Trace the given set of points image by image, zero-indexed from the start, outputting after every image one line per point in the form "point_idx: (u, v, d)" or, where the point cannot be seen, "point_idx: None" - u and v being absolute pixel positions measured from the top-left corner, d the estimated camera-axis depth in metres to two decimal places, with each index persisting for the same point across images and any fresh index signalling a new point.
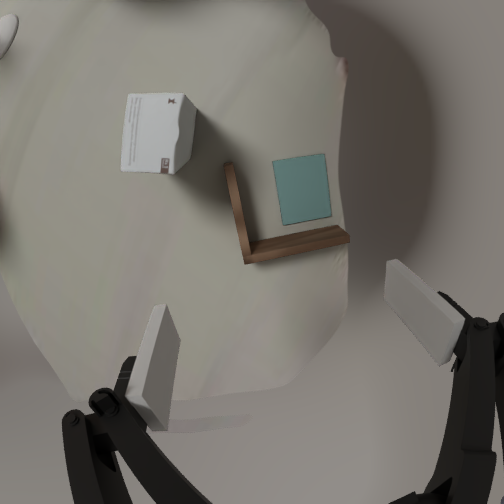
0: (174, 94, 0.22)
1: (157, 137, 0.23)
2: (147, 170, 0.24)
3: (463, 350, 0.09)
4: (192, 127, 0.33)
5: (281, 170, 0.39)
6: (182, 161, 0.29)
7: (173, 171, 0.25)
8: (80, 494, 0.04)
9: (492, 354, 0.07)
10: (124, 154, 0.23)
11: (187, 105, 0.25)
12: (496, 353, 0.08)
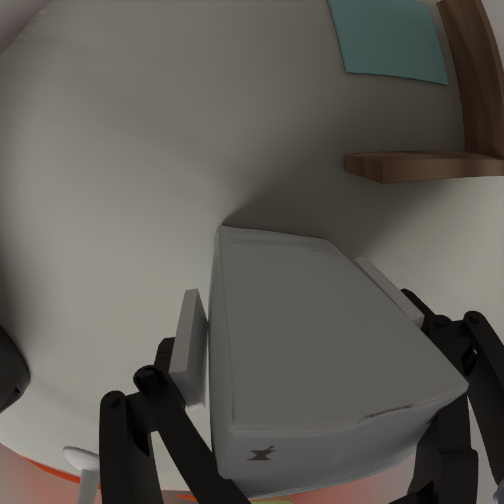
0: (232, 450, 0.05)
1: (372, 451, 0.06)
2: None
3: None
4: (275, 248, 0.15)
5: (364, 60, 0.14)
6: (392, 309, 0.10)
7: (464, 387, 0.06)
8: (109, 477, 0.05)
9: (457, 351, 0.08)
10: (370, 474, 0.07)
11: (253, 338, 0.08)
12: (462, 352, 0.09)
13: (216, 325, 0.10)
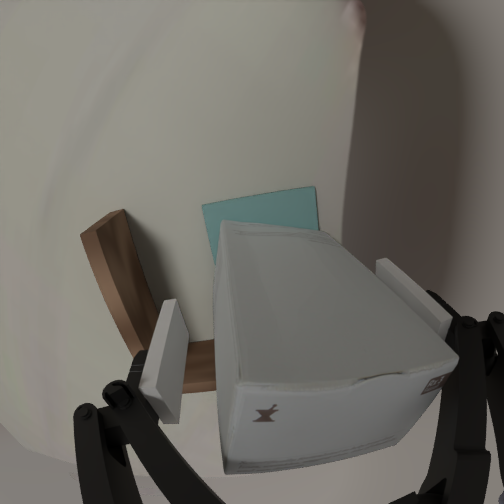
0: (239, 410, 0.06)
1: (369, 419, 0.07)
2: (424, 409, 0.08)
3: None
4: (275, 238, 0.16)
5: (220, 224, 0.19)
6: (385, 291, 0.12)
7: (455, 360, 0.07)
8: (88, 488, 0.05)
9: (481, 352, 0.07)
10: (370, 450, 0.09)
11: (256, 312, 0.09)
12: (486, 352, 0.08)
13: (222, 306, 0.11)
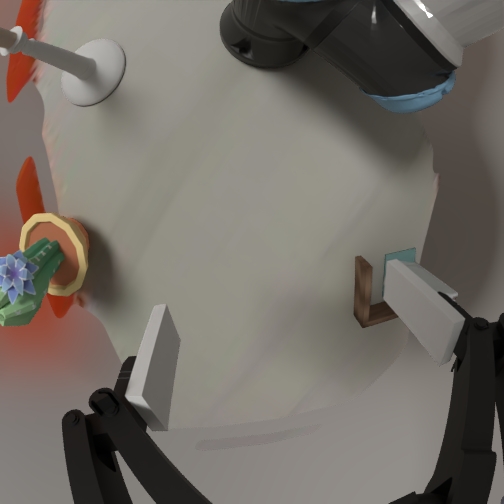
0: None
1: None
2: None
3: (463, 350, 0.09)
4: (411, 267, 0.49)
5: None
6: (440, 281, 0.44)
7: (457, 293, 0.40)
8: (80, 494, 0.04)
9: (492, 354, 0.07)
10: None
11: None
12: (496, 353, 0.08)
13: None
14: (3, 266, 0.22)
